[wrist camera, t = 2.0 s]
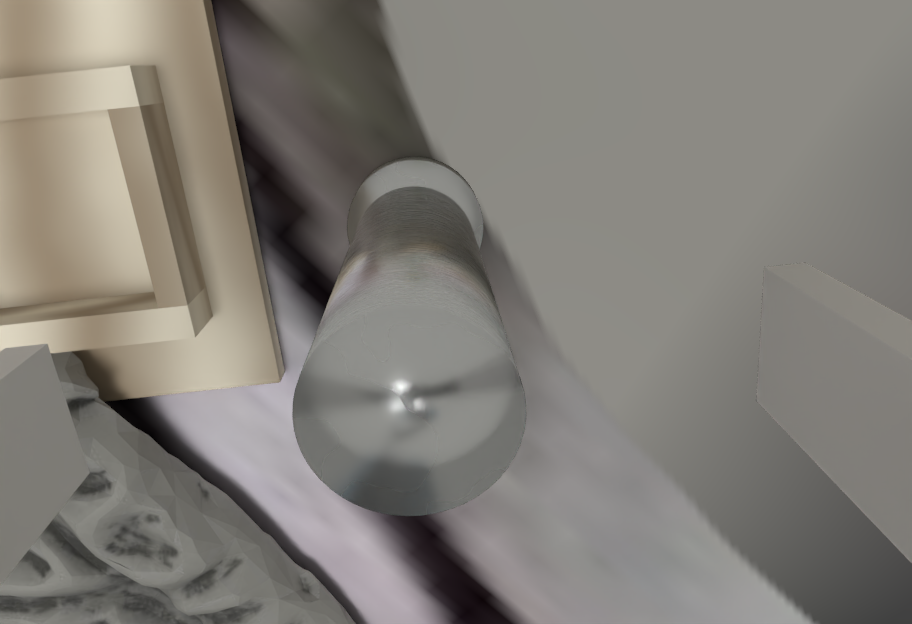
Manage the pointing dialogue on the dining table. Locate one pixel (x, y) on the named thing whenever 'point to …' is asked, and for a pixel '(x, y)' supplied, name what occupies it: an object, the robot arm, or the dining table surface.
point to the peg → (411, 353)
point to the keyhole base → (128, 199)
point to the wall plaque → (152, 541)
